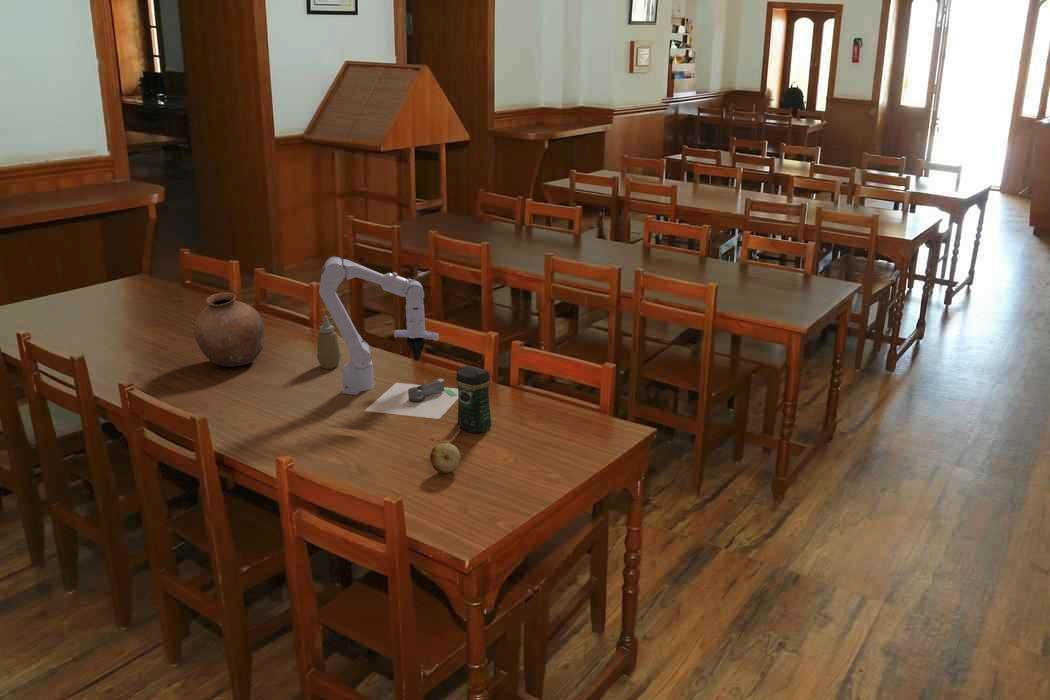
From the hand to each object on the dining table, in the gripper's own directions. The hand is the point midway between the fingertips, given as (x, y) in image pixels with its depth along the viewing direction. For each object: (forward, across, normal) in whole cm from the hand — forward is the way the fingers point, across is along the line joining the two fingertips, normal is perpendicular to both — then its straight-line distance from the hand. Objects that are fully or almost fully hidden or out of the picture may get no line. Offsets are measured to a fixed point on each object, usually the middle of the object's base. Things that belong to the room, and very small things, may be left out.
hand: (417, 359), depth 305 cm
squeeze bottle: (+10, -37, +10) cm, 40 cm away
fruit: (+10, +30, -55) cm, 63 cm away
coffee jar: (+10, +28, -26) cm, 39 cm away
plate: (+9, +5, -14) cm, 18 cm away
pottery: (+10, -71, +4) cm, 72 cm away
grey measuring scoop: (+8, +7, -11) cm, 15 cm away
